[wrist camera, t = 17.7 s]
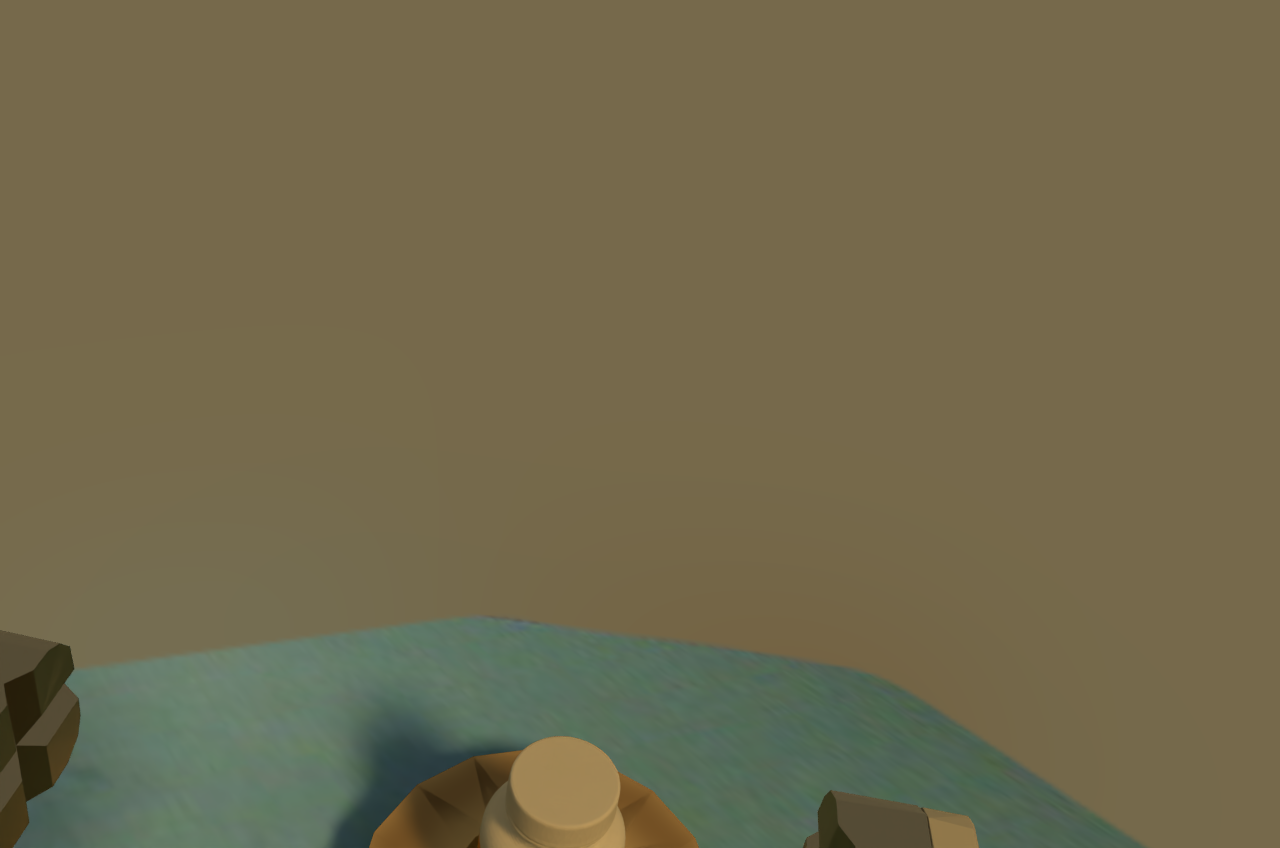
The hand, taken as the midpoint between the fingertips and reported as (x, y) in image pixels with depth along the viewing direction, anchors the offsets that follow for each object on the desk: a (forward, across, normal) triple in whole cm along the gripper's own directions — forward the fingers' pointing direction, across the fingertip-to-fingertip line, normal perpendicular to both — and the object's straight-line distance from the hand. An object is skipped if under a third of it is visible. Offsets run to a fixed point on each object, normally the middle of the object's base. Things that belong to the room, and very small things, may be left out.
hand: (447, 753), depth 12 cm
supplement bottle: (+18, -2, +32) cm, 37 cm away
